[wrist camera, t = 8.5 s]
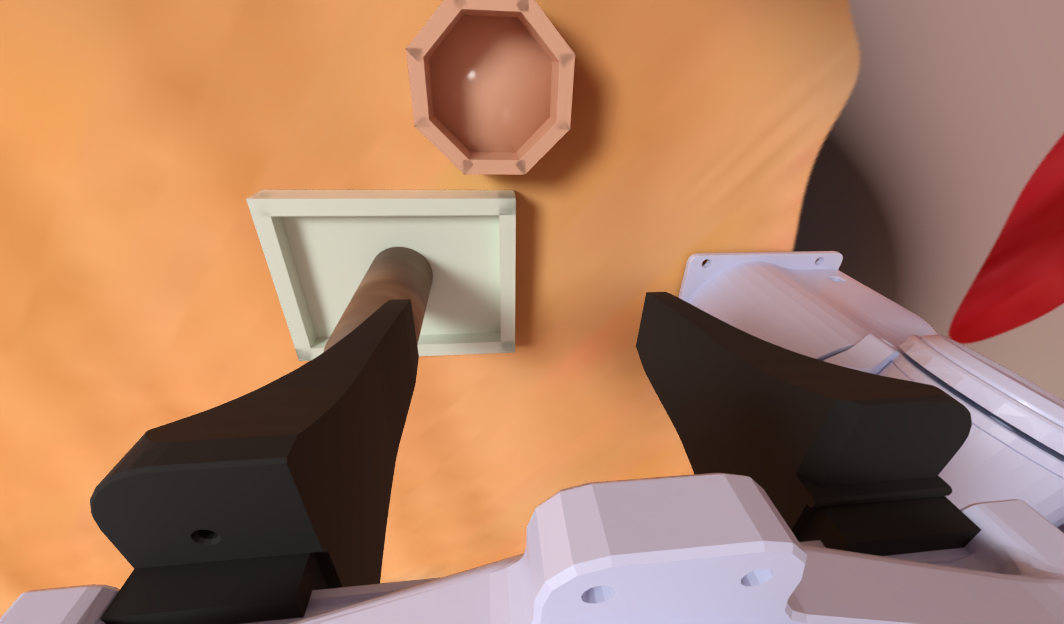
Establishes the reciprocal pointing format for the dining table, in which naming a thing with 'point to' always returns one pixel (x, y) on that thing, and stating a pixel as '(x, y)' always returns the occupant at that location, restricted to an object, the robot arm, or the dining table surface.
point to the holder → (491, 84)
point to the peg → (388, 289)
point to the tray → (383, 222)
